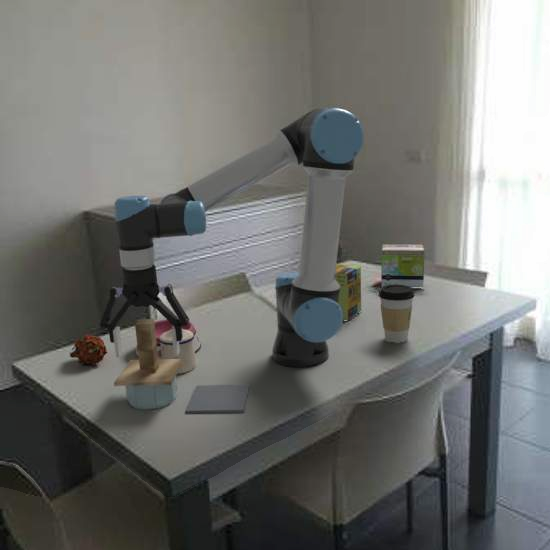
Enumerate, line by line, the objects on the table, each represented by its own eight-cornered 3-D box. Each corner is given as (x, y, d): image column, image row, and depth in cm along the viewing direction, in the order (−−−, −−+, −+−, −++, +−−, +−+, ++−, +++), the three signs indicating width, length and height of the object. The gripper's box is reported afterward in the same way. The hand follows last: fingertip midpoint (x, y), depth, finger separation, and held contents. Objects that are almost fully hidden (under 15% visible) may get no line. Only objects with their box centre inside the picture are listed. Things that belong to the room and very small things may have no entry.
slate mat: (249, 386, 150) (249, 384, 150) (243, 412, 137) (243, 409, 137) (196, 387, 151) (196, 385, 151) (186, 413, 138) (185, 410, 138)
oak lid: (183, 361, 150) (178, 311, 147) (171, 384, 138) (165, 330, 134) (130, 362, 151) (125, 313, 148) (114, 385, 139) (107, 332, 135)
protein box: (348, 322, 192) (347, 273, 188) (305, 315, 200) (303, 269, 196) (362, 312, 200) (361, 265, 196) (320, 306, 208) (318, 261, 204)
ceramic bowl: (180, 388, 151) (178, 363, 149) (170, 409, 140) (167, 383, 139) (136, 388, 152) (133, 364, 150) (123, 409, 141) (120, 383, 140)
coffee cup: (420, 337, 176) (421, 287, 172) (402, 348, 169) (402, 295, 165) (391, 330, 182) (391, 282, 178) (371, 340, 175) (371, 290, 171)
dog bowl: (162, 368, 164) (159, 344, 162) (122, 352, 176) (119, 330, 175) (214, 347, 177) (212, 324, 175) (173, 334, 189) (171, 312, 188)
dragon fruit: (101, 374, 165) (80, 369, 174) (120, 349, 169) (98, 345, 178) (79, 356, 161) (58, 351, 169) (99, 330, 165) (78, 327, 173)
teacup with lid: (185, 358, 169) (181, 318, 166) (203, 367, 163) (199, 326, 160) (146, 371, 162) (141, 329, 159) (163, 381, 155) (158, 338, 152)
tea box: (381, 289, 223) (381, 249, 220) (381, 282, 233) (381, 243, 229) (424, 289, 221) (424, 249, 217) (422, 282, 230) (422, 243, 227)
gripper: (196, 260, 140) (204, 347, 146) (89, 263, 142) (101, 349, 148) (190, 268, 133) (198, 359, 139) (77, 271, 135) (90, 361, 141)
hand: (148, 354), depth 143 cm, fingers open, 13 cm apart
